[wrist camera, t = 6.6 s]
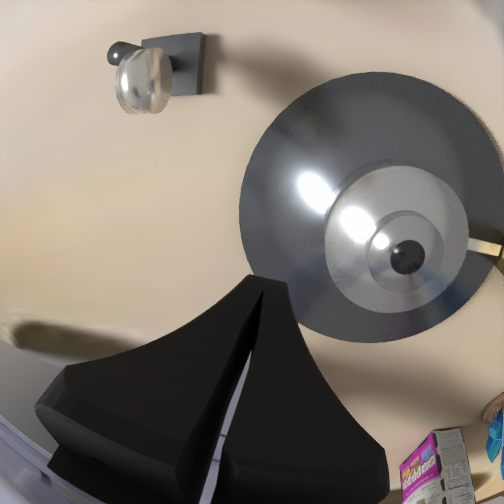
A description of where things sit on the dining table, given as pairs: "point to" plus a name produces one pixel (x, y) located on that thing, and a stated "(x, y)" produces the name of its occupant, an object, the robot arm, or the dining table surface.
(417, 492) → the candy bar box
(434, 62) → the dining table surface
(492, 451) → the gemstone
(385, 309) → the cover
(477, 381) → the dining table surface
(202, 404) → the robot arm
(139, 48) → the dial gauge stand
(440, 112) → the turntable
